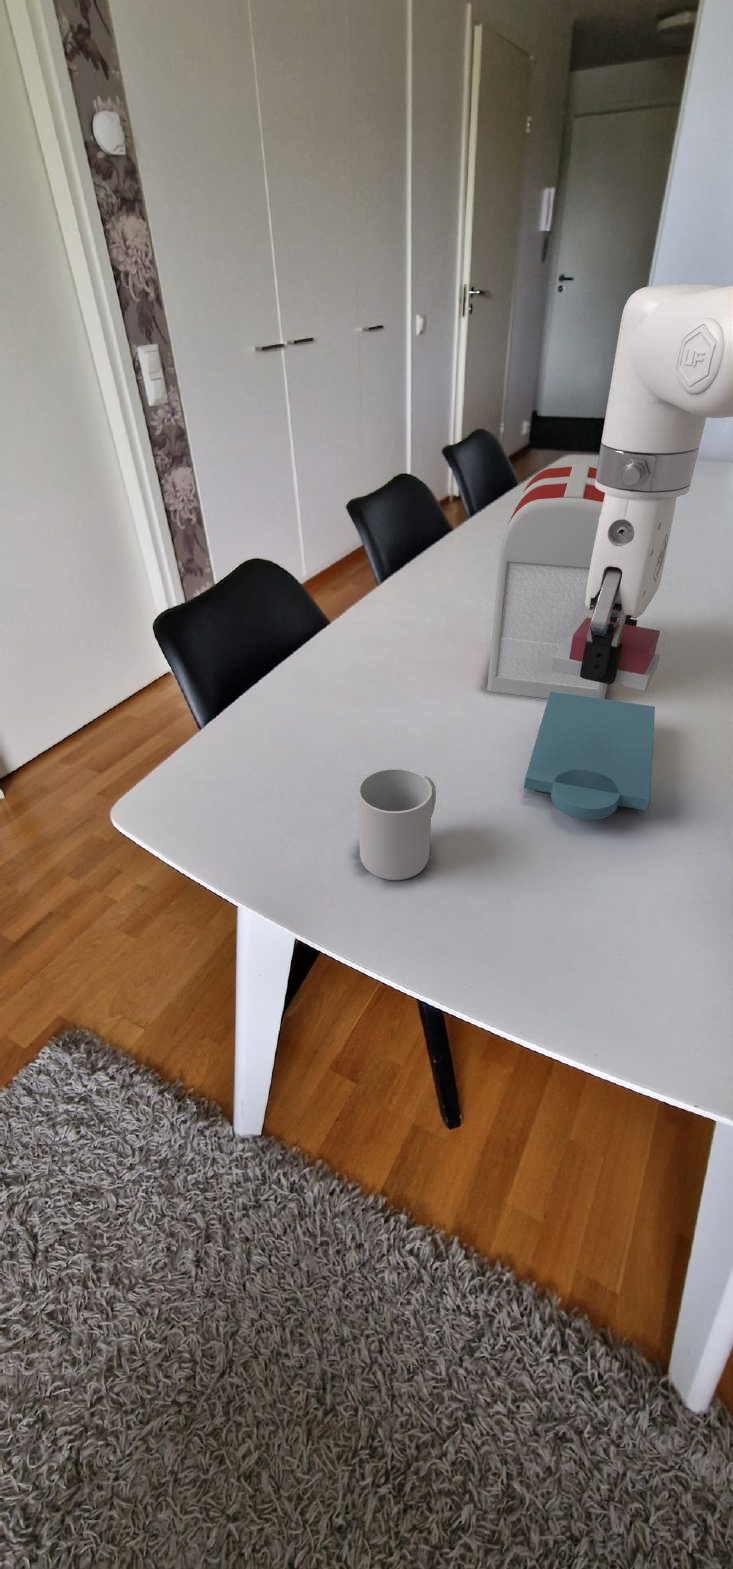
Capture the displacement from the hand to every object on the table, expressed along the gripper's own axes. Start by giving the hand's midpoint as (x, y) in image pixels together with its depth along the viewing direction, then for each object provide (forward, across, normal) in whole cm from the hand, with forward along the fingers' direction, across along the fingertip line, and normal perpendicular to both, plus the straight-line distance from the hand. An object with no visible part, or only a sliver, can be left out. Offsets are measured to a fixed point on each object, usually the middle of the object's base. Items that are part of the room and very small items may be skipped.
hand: (605, 665), depth 69 cm
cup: (+18, -16, +14) cm, 28 cm away
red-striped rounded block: (+18, +30, +13) cm, 37 cm away
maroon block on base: (0, 0, 0) cm, 0 cm away
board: (+18, +6, +1) cm, 19 cm away
